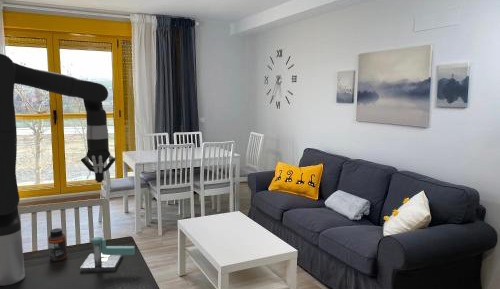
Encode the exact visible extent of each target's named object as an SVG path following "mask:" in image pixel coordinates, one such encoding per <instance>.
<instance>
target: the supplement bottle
mask: <svg viewBox="0 0 500 289" xmlns="http://www.w3.org/2000/svg"><path fill="white" fill-rule="evenodd" d="M66 239H67V238H66V234H65V233H63V229H62V228H60V227H56V228H53V229H51V230H50V235H49V236H48V239H47V240H48V242H47V243H48V250H49V253H48V254H49V259H50V260H51V261H53V262H57V261H62V260H64V259H66V258H67V256H68V253H67V240H66Z"/></svg>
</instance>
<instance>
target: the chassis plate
mask: <svg viewBox="0 0 500 289" xmlns="http://www.w3.org/2000/svg"><path fill="white" fill-rule="evenodd" d="M123 256H124V255H102V243H100V244H93V253H89V255H88V256H87V257H86V259H85V260H84V261H83V263H82V264H81V266H80V267H79V273H90V272H115V271H116V269H117V268H118V265H119V264H120V263H121V260H122V259H123Z"/></svg>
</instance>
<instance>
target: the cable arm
mask: <svg viewBox="0 0 500 289" xmlns="http://www.w3.org/2000/svg"><path fill="white" fill-rule="evenodd" d="M90 243H91V245H94V244H100V243H101V253H102V255H123V256H134V255H135V253H136V247H135V246H136V245H124V246H123V245H107V239H106V237H105V238H104V237H102V236H101V237H100V236H96V237H92V238H91V239H90Z"/></svg>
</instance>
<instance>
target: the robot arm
mask: <svg viewBox="0 0 500 289" xmlns="http://www.w3.org/2000/svg"><path fill="white" fill-rule="evenodd" d="M15 85H20V86H26V87H30V88H35V89H38V90H41V91H44V92H45V91H46V92H48V93H52V94H57V95H61V96H65V97H71V98H78V99H82V101H83V106H84V109H85V112H86V113H85V114H86V117H85V118H86V145H87V147H86V148H87V149H86V150H87V151H86V154H85V156H84V157H82V158H81V159H80V162H81V163H82V164H83V165H84V166H85V167H86V169H88V170H89V171H90V172H93V173H94V180H95V182H96V183H102V182H103V181H104V180H105V172H107V171H108V170H109V169H110V168H111V167H112V165H113V164H114V163H115V162H116V161H117V157H114V156H112V155H111V152H110V150H109V145H110V144H109V129H108V123H107V122H108V118H107V111H106V110H105V109H104V106H103V102H105V101H106V100H107V99H108V97H109V91H108V88H107V87H106V86H105V85H104V84H103V83H99V82H94V81H89V80H85V79H80V78H77V77H73V76H69V75H66V74H63V73H58V72H53V71H48V70H42V69H36V68H32V67H28V66H25V65H22V64H18V62H13V60H12V59H11V58H10V57H9V56H7V55H6V54H4V53H0V286H4V287H5V286H10V285H14V284H16V283H19V282H21V281H22V280H24V278H25V277H26V274H25V273H26V272H25V261H24V259H25V258H24V249H23V237H22V227H21V226H22V225H21V220H20V214H19V205H20V204H19V203H20V200H21V199H20V194H19V188H18V187H19V186H18V181H17V171H16V169H17V157H18V156H17V154H18V152H17V151H18V150H17V147H18V145H17V144H18V138H17V137H18V136H17V135H18V134H17V132H18V131H17V120H16V119H17V118H16V111H15V103H14V96H15V95H14V93H15V92H14V91H15ZM107 161H108V163H107ZM106 163H107V164H106Z"/></svg>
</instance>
